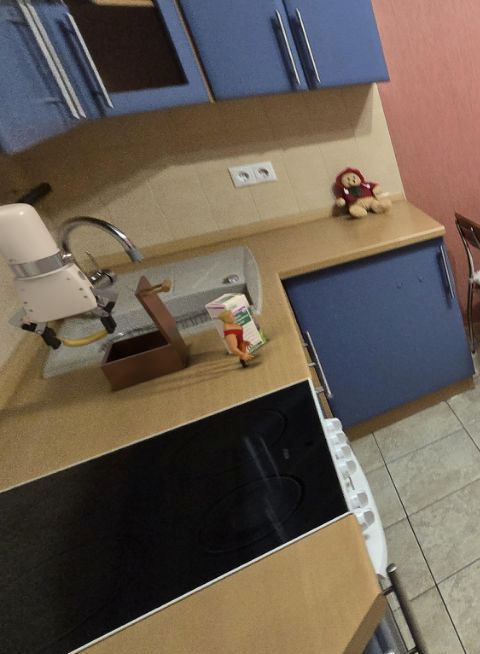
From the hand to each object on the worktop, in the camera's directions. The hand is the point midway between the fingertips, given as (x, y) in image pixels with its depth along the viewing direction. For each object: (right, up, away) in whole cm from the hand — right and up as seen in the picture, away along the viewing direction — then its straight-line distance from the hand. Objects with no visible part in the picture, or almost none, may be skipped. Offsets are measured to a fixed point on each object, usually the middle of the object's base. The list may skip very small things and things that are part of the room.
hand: (85, 338), depth 114 cm
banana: (0, -1, +1) cm, 2 cm away
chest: (+3, -9, +13) cm, 16 cm away
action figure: (+27, -8, +12) cm, 30 cm away
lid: (+6, +5, +10) cm, 13 cm away
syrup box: (+21, -5, +19) cm, 29 cm away
